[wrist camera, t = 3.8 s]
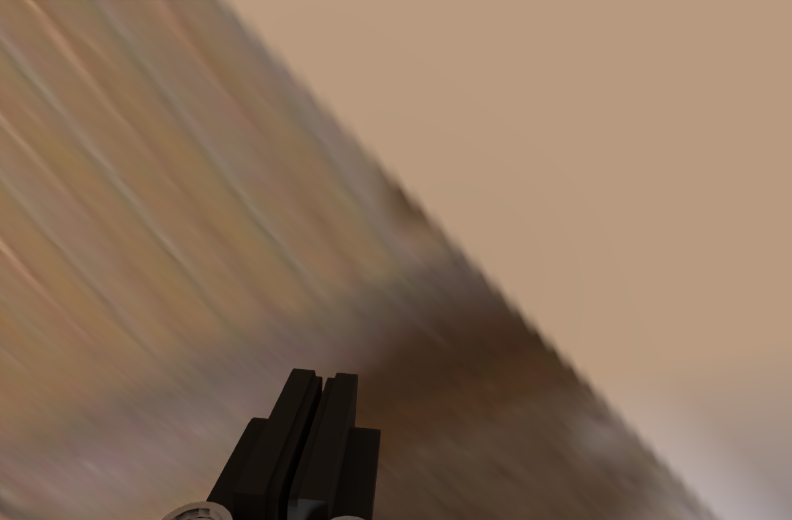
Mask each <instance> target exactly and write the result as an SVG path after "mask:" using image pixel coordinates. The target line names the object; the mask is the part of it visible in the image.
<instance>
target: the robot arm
mask: <svg viewBox="0 0 792 520" xmlns="http://www.w3.org/2000/svg"><path fill="white" fill-rule="evenodd" d="M357 384H358V375H357V374H346V373H336V376H335V378H329V377H328V379H327V381H326V384H325V387H324V390H323V393H322V377H318V376H316V374H315V370H305V369H295V368H294V369H293V370H292V372H291V374H290V376H289V378H288V380H287V382H286V384H285V386H284V388H283V390H282V392H281V394H280V396H279V398H278V400H277V402H276V404H275V406H274V408H273V411H272V413H271V415H270V417H269V419H265V418H255V417H254V418H252V419H251V421H250V422H249V423H248V425H247V427H246V429H245V431H244V433H243V434H242V436H241V438H240V440H239V442H238V444H237V445H236V447H235V449H234V451H233V453H232V455H231V456H230V458H229V460H228V462H227V464H226V466H225V467H224V469H223V471H222V473H221V475H220V477H219V478H218V480H217V482H216V484H215V486H214V488H213V489H212V491H211V493H210V495H209V497H208V498H207V500H206V502H205V501H202V502H195V503H190V504H187V505H184V506H182V507H179V508H177V509H175V510H174V511H172V512H171V513H169V514H167V515H166V516H165V517H164V518H163V519H162V520H372V516H373V506H374V497H375V488H376V478H377V468H378V457H379V446H380V434H381V430H377V429H367V428H357V427H355V414H356V399H357Z"/></svg>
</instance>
